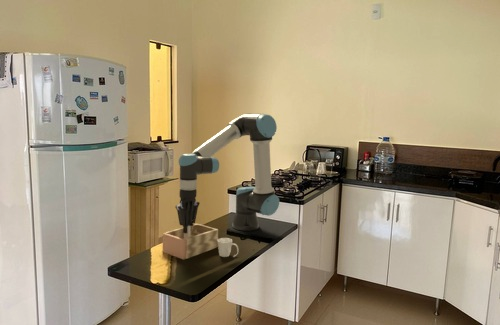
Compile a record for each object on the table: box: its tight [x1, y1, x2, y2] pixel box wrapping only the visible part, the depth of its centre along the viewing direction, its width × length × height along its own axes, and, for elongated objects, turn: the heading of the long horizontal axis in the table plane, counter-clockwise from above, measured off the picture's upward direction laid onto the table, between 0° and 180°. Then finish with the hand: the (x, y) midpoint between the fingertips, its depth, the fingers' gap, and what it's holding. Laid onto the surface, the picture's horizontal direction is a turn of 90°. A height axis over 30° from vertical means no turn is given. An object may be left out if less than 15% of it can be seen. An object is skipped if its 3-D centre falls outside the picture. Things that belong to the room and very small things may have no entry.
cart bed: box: [164, 223, 219, 260], centre depth 178 cm, size 20×14×10 cm
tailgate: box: [162, 232, 186, 261], centre depth 169 cm, size 1×14×9 cm, turn 52°
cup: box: [217, 237, 239, 258], centre depth 171 cm, size 7×10×8 cm
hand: (187, 239), depth 175 cm, fingers closed
